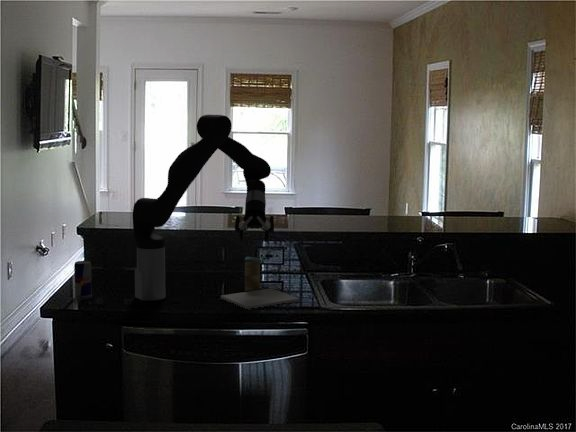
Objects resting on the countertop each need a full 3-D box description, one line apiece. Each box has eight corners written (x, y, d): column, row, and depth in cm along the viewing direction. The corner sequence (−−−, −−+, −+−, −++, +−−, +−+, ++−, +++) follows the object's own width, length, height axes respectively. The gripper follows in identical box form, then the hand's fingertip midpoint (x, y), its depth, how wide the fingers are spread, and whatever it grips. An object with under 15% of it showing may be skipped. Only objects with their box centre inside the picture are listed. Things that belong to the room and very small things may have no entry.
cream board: (246, 309, 255) (246, 306, 254) (220, 298, 269) (220, 295, 268) (299, 301, 266) (299, 298, 265) (271, 291, 280) (271, 288, 279)
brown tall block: (244, 290, 280) (244, 259, 278) (245, 287, 285) (245, 256, 283) (259, 291, 280) (259, 259, 278) (259, 287, 285) (259, 257, 283)
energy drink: (75, 300, 265) (74, 264, 263) (75, 296, 270) (74, 261, 268) (92, 299, 266) (91, 263, 265) (91, 295, 271) (90, 260, 270)
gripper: (235, 198, 298) (233, 234, 289) (274, 199, 298) (273, 234, 289) (236, 211, 304) (234, 246, 295) (274, 211, 304) (273, 246, 295)
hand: (254, 240), depth 292 cm, fingers open, 8 cm apart
